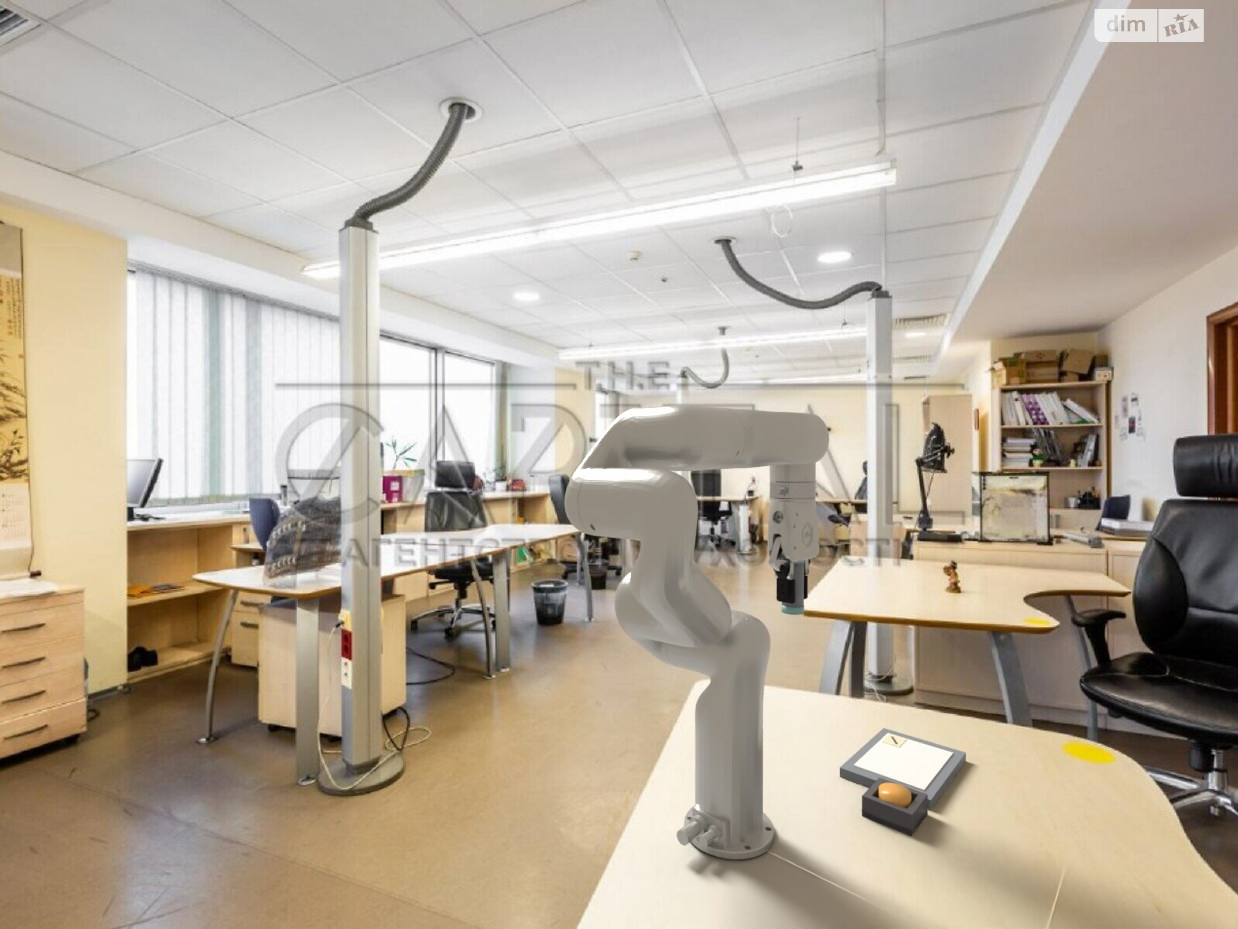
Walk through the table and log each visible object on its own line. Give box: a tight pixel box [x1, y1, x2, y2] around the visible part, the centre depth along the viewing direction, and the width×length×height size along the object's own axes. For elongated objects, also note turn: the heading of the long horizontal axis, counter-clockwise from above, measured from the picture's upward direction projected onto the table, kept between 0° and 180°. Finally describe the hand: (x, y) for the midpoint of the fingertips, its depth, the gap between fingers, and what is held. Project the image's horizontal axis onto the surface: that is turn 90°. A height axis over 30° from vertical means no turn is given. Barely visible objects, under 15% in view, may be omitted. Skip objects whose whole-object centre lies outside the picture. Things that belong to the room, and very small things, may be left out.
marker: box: [781, 556, 805, 616], centre depth 103 cm, size 4×4×11 cm
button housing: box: [861, 777, 929, 837], centre depth 90 cm, size 7×7×3 cm
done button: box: [879, 783, 911, 809], centre depth 90 cm, size 4×4×2 cm
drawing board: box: [839, 727, 967, 811], centre depth 103 cm, size 20×14×2 cm
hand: (792, 598), depth 103 cm, fingers closed on marker, 3 cm apart
